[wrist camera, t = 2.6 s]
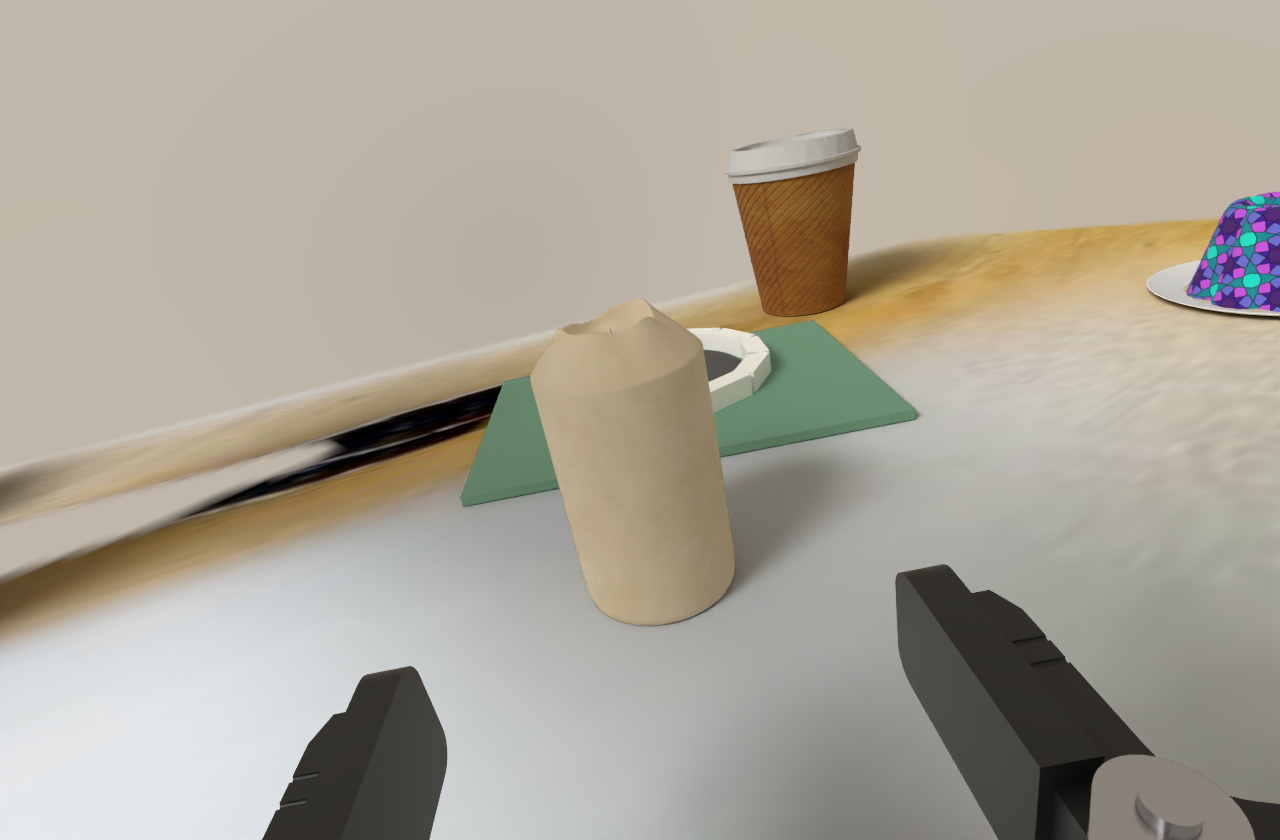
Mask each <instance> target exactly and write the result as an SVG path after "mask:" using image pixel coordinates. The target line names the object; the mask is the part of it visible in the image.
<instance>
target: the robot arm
mask: <svg viewBox="0 0 1280 840" xmlns="http://www.w3.org/2000/svg"><path fill="white" fill-rule="evenodd" d="M896 606H897V628H898V647H899V653H900V657H901V661H902V665H903V668H904V671H905V673H906V676H907V678H908V680H909V683H910V685H911V686H912V688H913V690H914V692H915V694H916V695H917V697H918V699H919V701H920V702H921V704H922V706H923V708H924V709H925V711H926V713H927V715H928V716H929V718H930V720H931V722H932V723H933V725H934V727H935V729H936V730H937V732H938V734H939V736H940V737H941V739H942V741H943V743H944V744H945V746H946V748H947V750H948V751H949V753H950V755H951V757H952V758H953V760H954V762H955V764H956V765H957V767H958V769H959V771H960V772H961V774H962V776H963V778H964V779H965V781H966V783H967V785H968V787H969V788H970V790H971V792H972V794H973V795H974V797H975V799H976V801H977V802H978V804H979V806H980V808H981V809H982V811H983V813H984V815H985V816H986V818H987V820H988V822H989V823H990V825H991V827H992V829H993V830H994V832H995V834H996V836H997V837H998V839H999V840H1280V804H1273V803H1265V802H1256V801H1250V800H1244V799H1239V798H1235V797H1232V796H1229V795H1228V794H1227V793H1226V792H1224V791H1223V790H1222V789H1221V788H1220V787H1219V786H1217V785H1216V784H1215V783H1213V782H1212V781H1210V780H1209V779H1208V778H1206V777H1204V776H1203V775H1201V774H1199V773H1197V772H1196V771H1194V770H1192V769H1190V768H1188V767H1185V766H1183V765H1181V764H1178V763H1176V762H1173V761H1170V760H1167V759H1163V758H1159V757H1156V756H1155V755H1154V754H1153V753H1152V752H1151V751H1150V750H1149V749H1148V748H1147V747H1146V746H1145V745H1144V744H1143V743H1142V742H1141V741H1140V740H1139V738H1138V737H1137V736H1136V735H1135V734H1134V733H1133V732H1132V731H1131V730H1130V728H1129V727H1128V726H1127V725H1126V724H1125V723H1124V722H1123V721H1122V720H1121V718H1120V717H1119V716H1118V715H1117V714H1116V713H1115V712H1114V711H1113V710H1112V708H1111V707H1110V706H1109V705H1108V704H1107V703H1106V702H1105V701H1104V700H1103V698H1102V697H1101V696H1100V695H1099V694H1098V693H1097V692H1096V691H1095V690H1094V688H1093V687H1092V686H1091V685H1090V684H1089V683H1088V682H1087V681H1086V680H1085V678H1084V677H1083V676H1082V675H1081V674H1080V673H1079V672H1078V671H1077V669H1076V668H1075V667H1074V666H1073V665H1072V664H1071V663H1067V661H1066V659H1065V656H1064V655H1063V654H1062V653H1061V652H1060V651H1059V649H1058V648H1057V647H1056V646H1055V645H1054V644H1053V643H1052V642H1051V641H1050V640H1049V641H1048V640H1047V639H1046V635H1045V634H1044V633H1043V632H1042V631H1041V629H1040V628H1039V627H1038V626H1037V625H1036V624H1035V623H1034V622H1033V621H1032V619H1031V618H1030V617H1029V616H1028V615H1027V614H1026V613H1025V612H1024V611H1023V609H1021V608H1019V607H1018V606H1016V605H1014V604H1013V603H1011V602H1009V601H1007V600H1006V599H1004V598H1002V597H1001V596H999V595H997V594H996V593H994V592H992V591H990V590H986V591H981V592H976V593H971V592H970V591H969V590H968V588H967V587H966V586H965V585H964V583H963V582H962V581H961V580H960V579H959V577H958V576H957V575H956V574H955V572H954V571H953V570H952V569H951V568H950V567H949V566H947V565H945V564H942V565H937V566H932V567H927V568H922V569H917V570H911V571H906V572H901V573H898V574H897V576H896ZM446 767H447V744H446V738H445V734H444V731H443V728H442V726H441V723H440V721H439V719H438V716H437V714H436V712H435V710H434V707H433V705H432V703H431V700H430V698H429V696H428V694H427V691H426V689H425V687H424V685H423V682H422V680H421V678H420V675H419V673H418V672H417V670H416V669H415V668H414V667H411V666H408V667H403V668H398V669H393V670H388V671H383V672H378V673H372V674H367V675H365V676H364V677H362V679H361V680H360V682H359V683H358V685H357V688H356V690H355V692H354V694H353V697H352V699H351V701H350V703H349V706H348V708H347V710H346V712H344V713H339V714H334V715H333V716H332V717H331V718H330V720H329V721H328V722H327V723H326V724H325V725H324V726H323V728H322V729H321V730H320V731H319V732H318V733H317V735H316V736H315V737H314V738H313V739H312V740H311V742H310V743H309V744H308V746H307V748H306V750H305V752H304V754H303V756H302V758H301V760H300V762H299V764H298V766H297V768H296V770H295V773H294V775H293V782H292V783H289V785H288V787H287V789H286V791H285V793H284V795H283V797H282V799H281V802H280V809H279V810H276V812H275V814H274V816H273V818H272V820H271V822H270V824H269V826H268V829H267V831H266V833H265V835H264V837H263V839H262V840H429V839H430V835H431V830H432V826H433V822H434V818H435V814H436V810H437V806H438V802H439V798H440V793H441V789H442V785H443V781H444V777H445V773H446Z"/></svg>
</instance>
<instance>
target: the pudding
mask: <svg viewBox="0 0 1280 840" xmlns="http://www.w3.org/2000/svg"><path fill="white" fill-rule="evenodd" d="M1188 283H1190V285H1189V287H1188V289H1187V295H1189V296H1191V297H1193V298H1197V299H1205V300H1210V301H1211V303H1212V304H1213V305H1217V306H1221V307H1217V306H1212V305H1208V304H1205V303H1201V302H1198V301H1196V300H1193V299H1191V298H1190V297H1188V296H1187V295H1185V293H1184V292H1183V288H1184V287H1185V285H1186V284H1188ZM1146 285H1147V287H1148V289H1149V290H1150V291H1151V292H1153V293H1154V294H1155V295H1157V296H1160V297H1162V298H1164V299H1167V300H1170V301H1173V302H1177V303H1180V304H1183V305H1187V306H1192V307H1196V308H1201V309H1207V310H1213V311H1220V312H1228V313H1238V314H1248V315H1265V316H1280V313H1273V312H1255V311H1244V310H1236V309H1255V308H1261V309H1265V310H1270V311H1275V312H1280V192H1272V193H1266V194H1260V195H1257V196H1254V197H1247V198H1243V199H1239V200H1236V201H1235V202H1233V203H1232V204H1231V205H1230V206H1229V207H1228V208H1227V209H1226V210H1225V212H1224V213H1223V215H1222V217H1221V219H1220V221H1219V223H1218V226H1217V228H1216V230H1215V232H1214V234H1213V236H1212V238H1211V240H1210V242H1209V245H1208V247H1207V249H1206V251H1205V253H1204V255H1203V257H1202V259H1201V260H1198V261H1193V262H1188V263H1183V264H1180V265H1176V266H1172V267H1169V268H1167V269H1164V270H1161V271H1159V272H1157V273H1155V274H1154V275H1152V276H1151V277H1150V278H1149V279H1148V280H1147V284H1146ZM1222 307H1225V308H1222ZM1229 308H1235V309H1229Z"/></svg>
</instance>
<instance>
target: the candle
mask: <svg viewBox="0 0 1280 840" xmlns="http://www.w3.org/2000/svg"><path fill="white" fill-rule="evenodd" d="M530 381H531V385H532V389H533V393H534V396H535V400H536V404H537V407H538V411H539V415H540V418H541V422H542V426H543V429H544V433H545V437H546V440H547V444H548V448H549V451H550V455H551V459H552V462H553V466H554V470H555V473H556V477H557V481H558V484H559V488H560V492H561V495H562V499H563V503H564V506H565V510H566V513H567V517H568V521H569V524H570V528H571V532H572V535H573V539H574V543H575V546H576V550H577V554H578V557H579V561H580V565H581V568H582V572H583V575H584V579H585V582H586V585H587V589H588V591H589V594H590V596H591V598H592V600H593V602H594V603H595V605H596V606H597V607H598V608H599V609H600V610H601V611H602V612H603V613H604V614H606V615H607V616H609V617H611V618H613V619H615V620H618V621H621V622H624V623H628V624H633V625H643V626H647V625H663V624H669V623H674V622H678V621H681V620H684V619H687V618H690V617H692V616H695V615H697V614H699V613H701V612H703V611H704V610H706V609H707V608H709V607H710V606H712V605H713V604H714V603H716V602H717V601H718V600H719V599H720V598H721V597H722V596H723V595H724V594H725V592H726V591H727V590H728V588H729V587H730V585H731V583H732V580H733V577H734V571H735V555H734V547H733V540H732V533H731V526H730V519H729V513H728V506H727V500H726V493H725V487H724V480H723V474H722V467H721V461H720V454H719V447H718V441H717V434H716V428H715V421H714V415H713V408H712V402H711V395H710V389H709V382H708V375H707V369H706V362H705V356H704V350H703V344H702V342H701V340H700V339H699V338H698V337H697V336H695V335H694V334H693V333H691V332H690V331H689V330H687V329H686V328H684V327H683V326H681V325H680V324H678V323H677V322H675V321H673V320H672V319H670V318H669V317H667V316H666V315H664V314H663V313H661V312H660V311H658V310H657V309H655V308H654V307H653V306H651V305H650V304H649V303H647V301H645V300H644V299H635V300H631V301H627V302H624V303H621V304H618V305H615V306H612V307H610V308H609V309H607V310H606V311H605V312H604V313H603V314H602V315H601V316H600V317H598V318H596V319H594V320H591V321H588V322H585V323H581V324H570V325H568V326H565V327H564V328H562V329H561V328H559V329H558V330H557V332H556V334H555V336H554V338H553V340H552V341H551V343H550V344H549V345H548V347H547V348H546V350H545V351H544V353H543V354H542V356H541V358H540V359H539V361H538V363H537V364H536V366H535V368H534V370H533V371H532V373H531V376H530Z"/></svg>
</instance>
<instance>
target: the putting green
mask: <svg viewBox="0 0 1280 840" xmlns="http://www.w3.org/2000/svg"><path fill="white" fill-rule="evenodd" d="M687 330H689V331H690V332H691V333H693V334H694V335H695V336H697V337H698V338H699V339H700V340H701V342H702V344H703V350H704V356H705V362H706V369H707V375H708V382H709V389H710V395H711V402H712V408H713V415H714V421H715V428H716V434H717V441H718V447H719V454H720V457H722V456H727V455H732V454H737V453H742V452H747V451H753V450H758V449H763V448H768V447H773V446H778V445H784V444H789V443H794V442H799V441H804V440H809V439H815V438H820V437H825V436H830V435H835V434H841V433H846V432H851V431H856V430H861V429H866V428H872V427H877V426H882V425H887V424H892V423H897V422H903V421H908V420H913V419H915V409H914V408H913V407H912V406H911V405H909V404H908V403H907V402H906V401H905V400H904V399H903V398H901V397H900V396H899V395H898V394H897V393H896V392H895V391H893V390H892V389H891V388H890V387H889V386H888V385H887V384H885V383H884V382H883V381H882V380H881V379H880V378H879V377H877V376H876V375H875V374H874V373H873V372H872V371H871V370H869V369H868V368H867V367H866V366H865V365H864V364H863V363H861V362H860V361H859V360H858V359H857V358H856V357H855V356H853V355H852V354H851V353H850V352H849V351H848V350H847V349H845V348H844V347H843V346H842V345H841V344H840V343H839V342H837V341H836V340H835V339H834V338H833V337H832V336H831V335H829V334H828V333H827V332H826V331H825V330H824V329H823V328H821V327H820V326H819V325H818V324H817V323H816V322H815V321H813V320H812V321H807V322H802V323H797V324H791V325H786V326H781V327H776V328H771V329H766V330H761V331H756V332H751V333H746V332H741V331H737V330H732V329H727V328H723V329H721V328H696V329H687ZM556 488H559V484H558V481H557V477H556V473H555V470H554V466H553V462H552V459H551V455H550V451H549V448H548V444H547V440H546V437H545V433H544V429H543V426H542V422H541V418H540V415H539V411H538V407H537V404H536V400H535V396H534V393H533V389H532V385H531V381H530V376H528V377H523V378H518V379H513V380H507V381H504V383H503V386H502V388H501V391H500V394H499V396H498V399H497V402H496V404H495V407H494V410H493V412H492V415H491V418H490V420H489V423H488V426H487V428H486V431H485V434H484V436H483V439H482V442H481V444H480V447H479V450H478V452H477V455H476V458H475V460H474V463H473V466H472V468H471V471H470V474H469V476H468V479H467V482H466V484H465V487H464V490H463V492H462V495H461V497H460V498H461V501H462V503H463V506H468V505H473V504H478V503H484V502H489V501H494V500H499V499H504V498H509V497H515V496H520V495H525V494H530V493H535V492H540V491H546V490H551V489H556Z"/></svg>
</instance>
